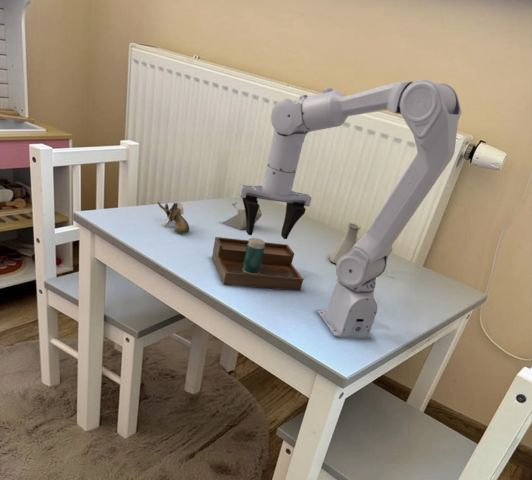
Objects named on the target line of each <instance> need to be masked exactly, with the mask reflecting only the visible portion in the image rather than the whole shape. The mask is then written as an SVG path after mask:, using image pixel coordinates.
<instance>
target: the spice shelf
mask: <svg viewBox="0 0 532 480" xmlns="http://www.w3.org/2000/svg"><path fill="white" fill-rule="evenodd" d="M248 242H249V239H248V240H247V239H238V238H230V237H222V236H221V237H220V236H215V237H214V243H213V249H212V254H211V260H212V262H213V265H214V267H215V269H216V271H217V274H218V276H219V278H220V281H221V283H222V285H223V286H235V287H247V288H248V287H250V288H261V289H274V290H275V289H276V290H286V291H287V290H288V291H289V290H290V291H301V289H302V285H303V281H304V278H303V277H302V275H301V274H300V273H299V272H298V270H297V268H296V267H295V266H294V265H293V260H294V258H295V257H294V256H295V252H294V251H293V250H292V248H291V247H290V246H289V244H284V243H275V242H268V241H267V242H266V241H264V242H265V245H264V247H265V250H264V254H263V258H262V263H261V267H260V272H259V273H249V272H246V271H244V270H243V269H242V266H243V261H244V256H245V251H246V247H247V243H248Z"/></svg>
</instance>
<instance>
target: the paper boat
mask: <svg viewBox="0 0 532 480" xmlns="http://www.w3.org/2000/svg"><path fill="white" fill-rule="evenodd" d="M237 204H238V202H234V203H231V205H232V206H233V207H234V208H235V209H236V210H237V214H235V215H233V216H232V217H231V218H230V217H229V218H228V219H226V220H225V221H223V222H222V224H224V225H226V226H229V227H232V228H235V229H238V230H240V231H241V230H245V229H246V213H245V209H241V208H237V207H236V205H237ZM262 216H263V213H262V210H261V208H260V207H259V209H258V212H257V215H256V218H255V223H254V225H255V224H256V223H257V222H258V221H259V219H261V217H262Z"/></svg>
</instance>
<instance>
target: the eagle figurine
mask: <svg viewBox="0 0 532 480" xmlns="http://www.w3.org/2000/svg"><path fill="white" fill-rule="evenodd" d="M157 205H158V207H159V208H161V209H162V210H163V211H164V212H165V214H166V217H167V219H166V221H165V223H164V227H167V226H169V225H170V224H171V223H172V222H175V224H174V225H175V226H174V233H176V234H178V235H185V234H188V233H189V232H190V227H189V223H188V221H187V219H186V218H185V217H183V216H182V215H184V213H185V211H184V206H183V204H182V203H180V202H173V204H172V206H171V207H170V208H169V204H168V203H165V205H164V206H163V205H162V204H161V203H160V201H157Z"/></svg>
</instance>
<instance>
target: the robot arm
mask: <svg viewBox="0 0 532 480" xmlns="http://www.w3.org/2000/svg"><path fill="white" fill-rule="evenodd" d="M298 98H299V99H297V100H293V99H291V98H283V99H282V100H280V101H278V102H277V103H276V104H275V105H274V106H273V108H272V109H271V114H270V122H271V125H272V128H273V129H274V130H273V134H272V139H271V145H270V150H269V153H268V154H269V155H268V158H267V163H266V168H265V174H264V179H263V184H262V185H249V184H248V185H247V184H240V185H239V190H238V196H239V197H240V198H241V199H242V202H243V206H244V210H245V213H246V228H245V229H246V230H245V232H246V234H247V235H248V236H252V235H253V233H254V229H255V224H256V223H255V218H256V215H257V212H258V209H259V208H260V204H259V200H266V201H271V202H279V203H286V207H285V215H284V220H283V223H282V228H281V233H280V236H281V237H282V239H283V240H287V239H288V237H289V235H290V234H291V232H292V230H293V229H294V227H295V225H296V224H297V223H298V221H299V220H300V219H301V218H302V217H303V216H304V215H305V213H306V210H307V209H306V207H307V208H308V207H310V205H311V202H312V196H311V195H310V194H308V193H302V192H298V191H294V190H293V186H294V182H295V178H296V173H297V169H298V167H299V166H298V165H299V162H300V157H301V153H302V149H303V144H304V143H305V139H306V136H307V134H309V133H310V132H316V131H321V130H326V129H331V128H335V127H336V128H337V127H341V126H343V125H344V123H345V122H346V120H347V119H348V118H349V117H350V116H351V117H352V116H359V115H364V114H369V113H376V112H382V111H390V112H392V113H394V114H395V115H396V114H397V115H401V117H402V119H403V120H404V122H405V124H406V125H407V127H408V128H409V130H410V131H411V133H412V135H413V139H414V142H415V143H414V144H415V148H416V152H417V153H416V155H415V156H414V158H413V159H412V161H411V163H410V164H409V166H408V167H407V168H406V170H405V172H404V173H403V175H402V177H401V178H400V180H399V181H398V183H397V184H396V186H395V187H394V189H393V190H392V192H391V194H390V195H389V197H388V198H387V200H386V202H385V203H384V204H383V206H382V208H381V209H380V211H379V213H378V214H377V216H376V217H375V218H374V220H373V221H372V223H371V225H370V226H369V228H368V229H367V231H366V232H365V234H364V235H363V236H361V238H359V240H358V241H356V244H355V245H354V246H353V248H352V249H351V250H350V251H349V252H348V253H347V254H345V255H343V256H342V257H341V258H340V259H339V260H338V262H337V264H336V266H335V272H336V273H335V274H336V277H337V279H336V283H335V285H334V289H333V292H332V295H331V299H330V301H329V305H328V308H327V310H322V309H319V310H318V311H317V313H318V315H319V316H320V317H321V319H322V320H323V322H324V323H325V324H326V326H327V328H328V329H329V330H330V331H331V333H332V334H333V336H334V337H336V338H353V339H354V338H356V339H372V337H373V335H372V334H371V328H372V326H373V323H374V321H375V318H376V316H377V313H378V304H377V303H378V302H377V301H376V299H375V296H374V295H375V289H376V285H377V281H376V279H377V278H379V277H380V276H381V275H383V273H384V272H385V271H386V269H387V265H388V259H389V257H390V256H391V254H392V253H393V245H394V244H395V242H396V240H397V239H398V238H399V236H400V235H401V233H402V232H403V230H404V229H405V227H406V226H407V224H409V221H410V220H411V219H412V217H413V216H414V215H415V213H416V212H417V210H418V208H419V207H420V206H421V204H422V203H423V201H424V200H425V198H426V197H427V195H428V194H429V193H430V191H431V190H432V188H433V186H434V185H435V184H436V183H437V181H438V180H439V178H440V177H441V176H442V174H443V172H444V171H445V170H446V168H447V166H448V165H449V163H450V162H451V161H452V159H453V157H454V155H455V151H456V144H457V143H456V142H457V135H458V134H457V133H458V127H459V120H460V117H461V115H462V109H461V103H460V100H459V96H458V93H457V92H456V90H455V88H454V87H452V86H451V85H449V84H448V83H447V84H446V83H439V82H434V81H432V80H430V79H425V78H424V79H423V78H421V79H418V80H415V81H411V80H408V81H398V82H397V81H396V82H393V83H389V84H385V85H382V86H377V87H375V88H371V89H367V90H363V91H360V92H356V93H352V94H349V95H344V93H342V92H341V91H340V90H337V89H335V90H334V88H332V87H326V88H323V89H322V92H321V93H318V94H313V95H309V96H308V94H301V95H299V97H298ZM254 223H255V224H254Z"/></svg>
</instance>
